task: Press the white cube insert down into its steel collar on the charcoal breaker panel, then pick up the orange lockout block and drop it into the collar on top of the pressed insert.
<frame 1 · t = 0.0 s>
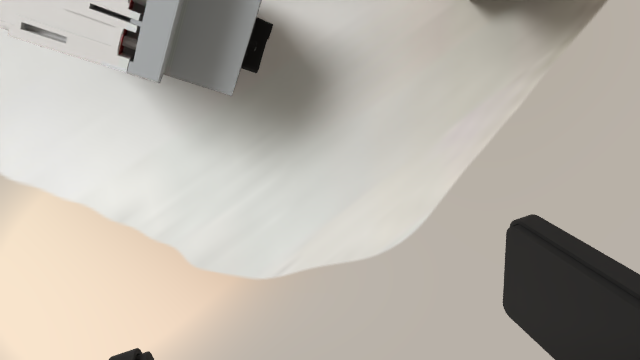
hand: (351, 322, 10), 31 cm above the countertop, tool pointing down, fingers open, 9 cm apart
circuit breaker: (166, 6, 34), on the countertop
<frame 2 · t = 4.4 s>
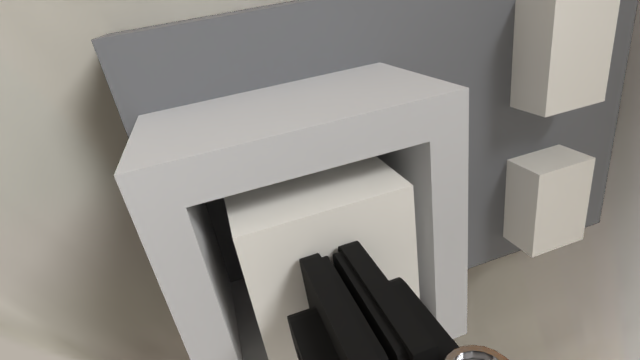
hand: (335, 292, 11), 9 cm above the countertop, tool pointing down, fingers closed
white cube insert: (323, 255, 12), point 8 cm above the countertop, slide at 0.5 cm, touching gripper
breaker panel: (390, 138, 20), on the countertop
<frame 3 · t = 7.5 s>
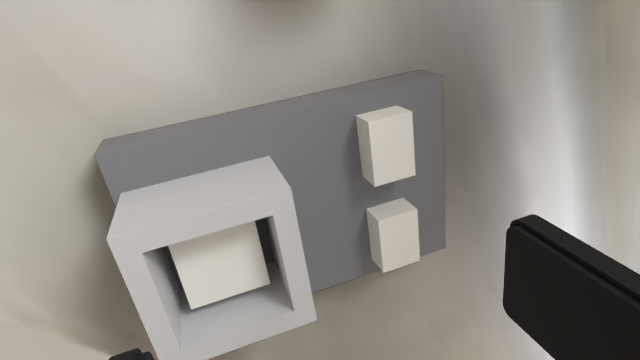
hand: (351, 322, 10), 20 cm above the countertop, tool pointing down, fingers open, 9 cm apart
white cube insert: (219, 250, 25), point 5 cm above the countertop, slide at 3.1 cm
breaker panel: (293, 193, 30), on the countertop
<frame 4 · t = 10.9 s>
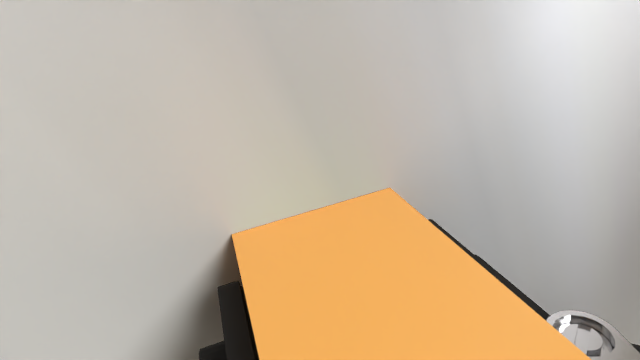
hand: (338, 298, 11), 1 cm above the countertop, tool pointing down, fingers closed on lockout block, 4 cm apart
lockout block: (326, 276, 12), on the countertop, touching gripper
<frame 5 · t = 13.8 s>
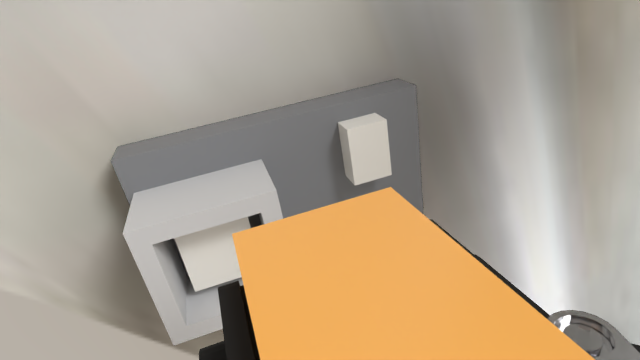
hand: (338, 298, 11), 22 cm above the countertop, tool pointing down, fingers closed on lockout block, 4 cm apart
lockout block: (327, 275, 12), point 21 cm above the countertop, touching gripper
white cube insert: (218, 241, 29), point 5 cm above the countertop, slide at 3.1 cm
breaker panel: (285, 190, 34), on the countertop
when the fingers open (11 cm above the countertop, at t = 16.8 s): lockout block drops 4 cm, point 6 cm above the countertop.
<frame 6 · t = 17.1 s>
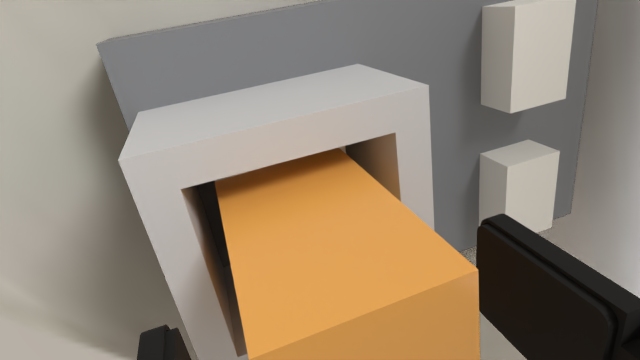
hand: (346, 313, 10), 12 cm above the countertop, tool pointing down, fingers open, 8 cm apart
lockout block: (291, 216, 15), point 6 cm above the countertop
white cube insert: (284, 199, 17), point 5 cm above the countertop, slide at 3.5 cm
breaker panel: (372, 134, 22), on the countertop
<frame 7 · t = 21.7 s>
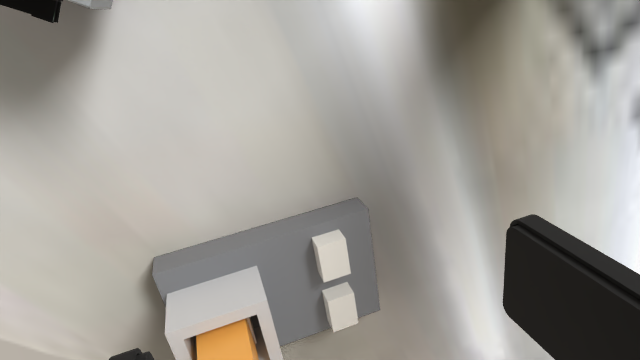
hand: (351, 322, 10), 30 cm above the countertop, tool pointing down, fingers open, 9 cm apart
lockout block: (226, 334, 39), point 6 cm above the countertop, touching white cube insert
white cube insert: (225, 323, 40), point 5 cm above the countertop, slide at 3.5 cm, touching lockout block
breaker panel: (274, 278, 46), on the countertop
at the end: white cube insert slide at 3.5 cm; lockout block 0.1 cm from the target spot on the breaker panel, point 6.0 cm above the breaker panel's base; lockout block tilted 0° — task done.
